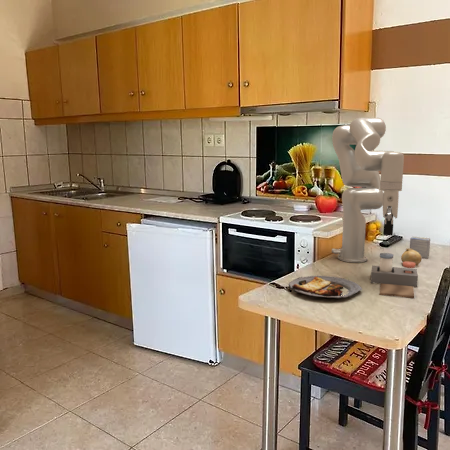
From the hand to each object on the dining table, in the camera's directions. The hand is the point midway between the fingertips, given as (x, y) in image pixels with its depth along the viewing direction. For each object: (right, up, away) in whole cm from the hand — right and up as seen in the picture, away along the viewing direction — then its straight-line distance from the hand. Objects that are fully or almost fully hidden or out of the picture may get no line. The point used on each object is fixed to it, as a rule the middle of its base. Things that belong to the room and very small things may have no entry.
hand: (388, 232), depth 174 cm
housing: (+3, -18, +2) cm, 19 cm away
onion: (+18, -14, +25) cm, 34 cm away
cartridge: (0, -18, +3) cm, 18 cm away
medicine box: (+27, -12, +39) cm, 49 cm away
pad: (-1, -20, -10) cm, 23 cm away
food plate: (-26, -21, -9) cm, 34 cm away
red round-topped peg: (+8, -18, +1) cm, 19 cm away
